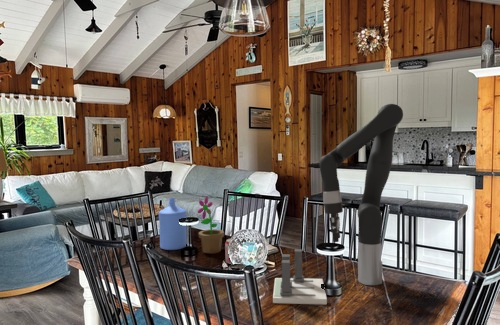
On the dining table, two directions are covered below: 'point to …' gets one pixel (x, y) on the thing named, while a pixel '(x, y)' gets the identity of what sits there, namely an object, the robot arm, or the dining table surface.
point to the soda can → (227, 251)
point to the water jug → (172, 227)
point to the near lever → (286, 279)
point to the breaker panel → (301, 292)
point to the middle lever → (286, 257)
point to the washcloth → (272, 249)
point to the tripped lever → (298, 266)
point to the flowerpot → (209, 231)
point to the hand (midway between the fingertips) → (336, 239)
